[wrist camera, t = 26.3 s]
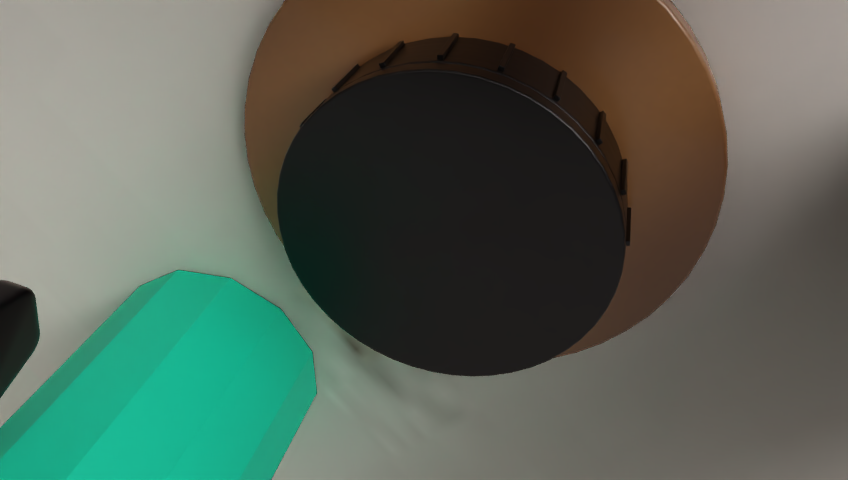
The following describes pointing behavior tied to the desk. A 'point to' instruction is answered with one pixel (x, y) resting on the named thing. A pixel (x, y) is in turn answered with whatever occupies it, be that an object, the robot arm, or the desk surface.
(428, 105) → the lid
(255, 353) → the candle
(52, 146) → the desk surface
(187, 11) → the desk surface
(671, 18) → the coaster
